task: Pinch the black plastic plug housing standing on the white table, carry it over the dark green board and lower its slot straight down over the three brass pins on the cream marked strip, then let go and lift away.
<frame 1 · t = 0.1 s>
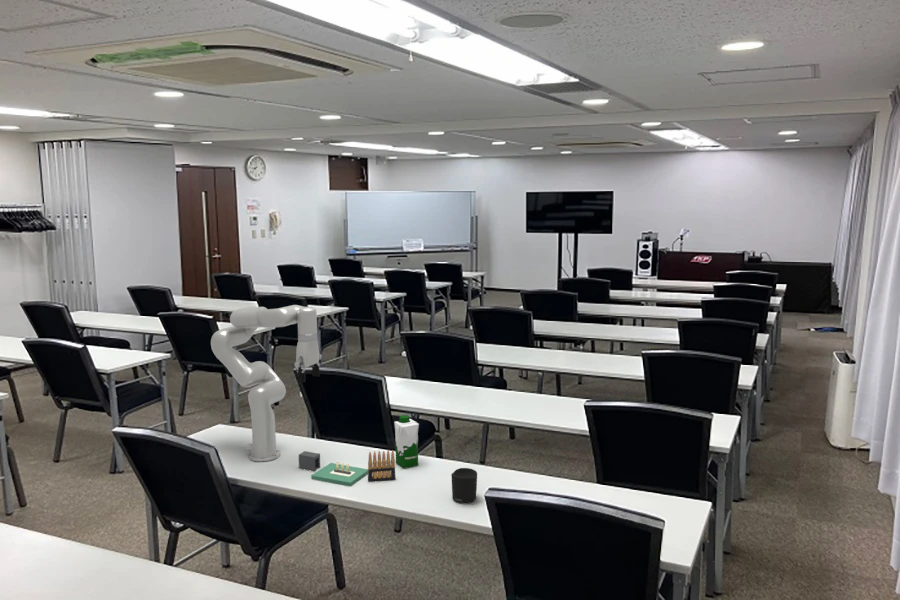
hand: (309, 379, 273), 37 cm above the table, tool pointing down, fingers open, 9 cm apart
plug housing: (309, 468, 275), on the table
header board: (340, 475, 267), on the table
milk carton: (407, 464, 279), on the table
pen holder: (464, 499, 246), on the table
ammunition clip: (381, 480, 263), on the table
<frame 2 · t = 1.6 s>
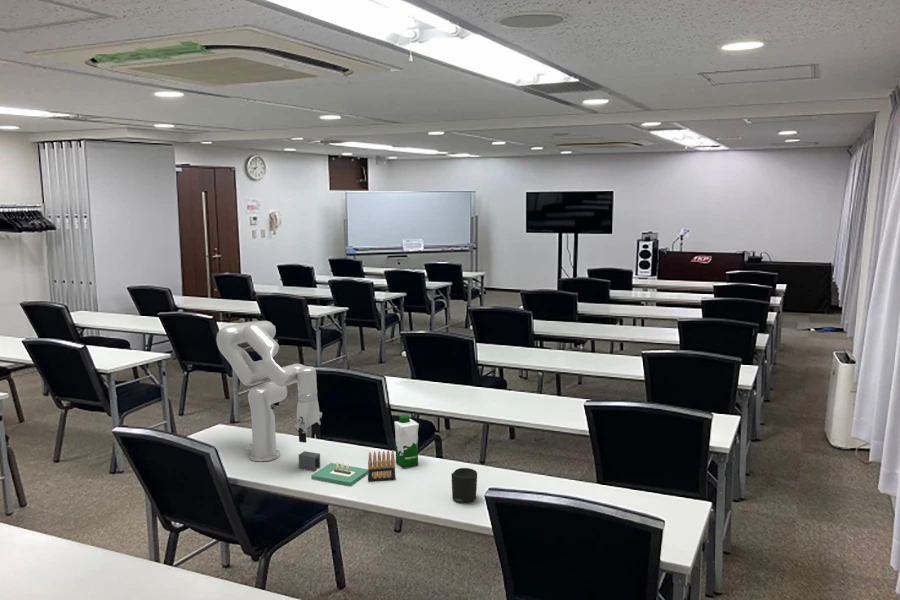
hand: (309, 438, 273), 13 cm above the table, tool pointing down, fingers open, 9 cm apart
nothing on the table moved.
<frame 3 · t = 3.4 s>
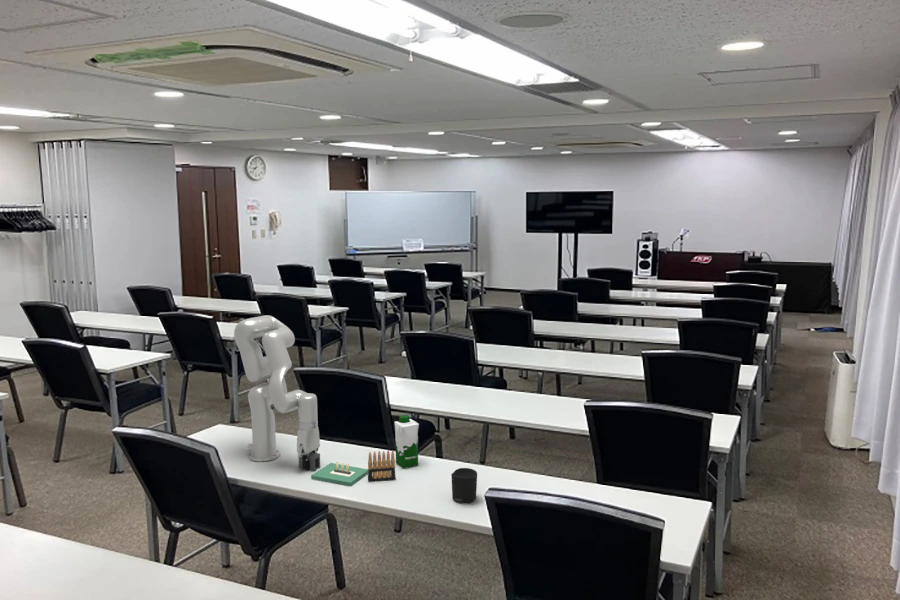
hand: (309, 466, 275), 1 cm above the table, tool pointing down, fingers closed on plug housing, 4 cm apart
plug housing: (309, 468, 275), on the table, touching gripper
everything else where it was.
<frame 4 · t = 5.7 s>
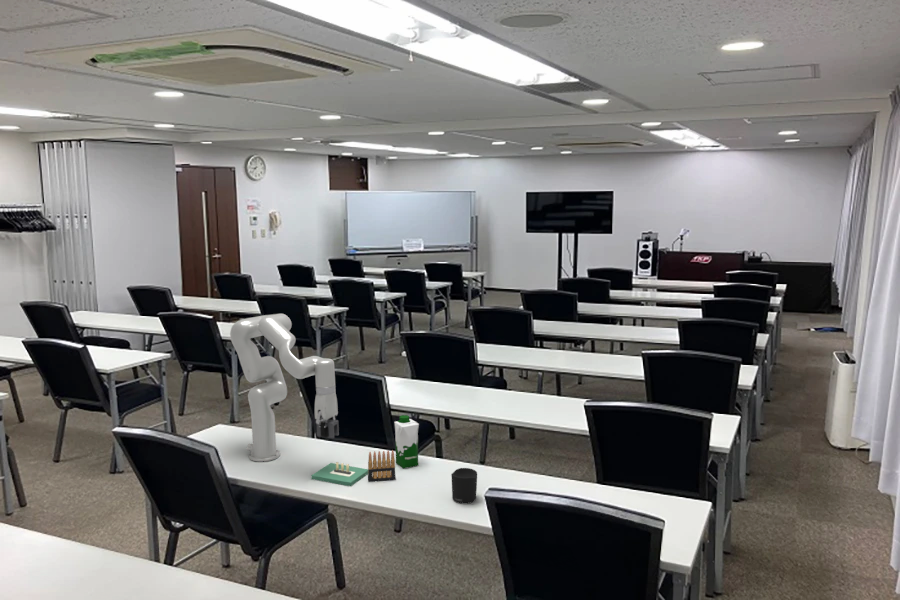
hand: (328, 434, 268), 16 cm above the table, tool pointing down, fingers closed on plug housing, 4 cm apart
plug housing: (328, 435, 268), point 16 cm above the table, touching gripper
everything else where it was.
when the fingers open (3 cm above the table, at t = 8.5 s): plug housing stays where it is, resting on header board.
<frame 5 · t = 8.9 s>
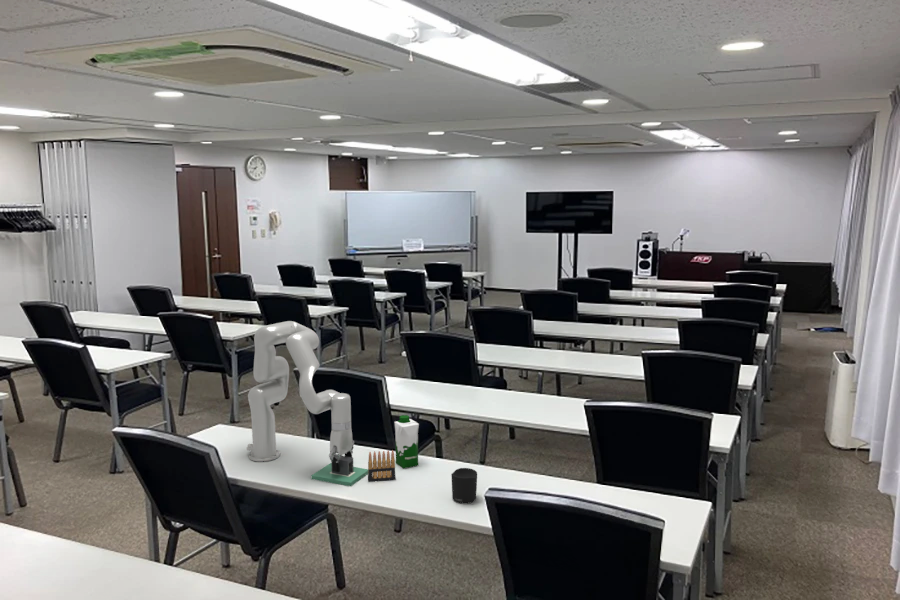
hand: (342, 467, 266), 4 cm above the table, tool pointing down, fingers open, 8 cm apart
plug housing: (342, 472, 266), point 2 cm above the table, touching header board
everything else where it was.
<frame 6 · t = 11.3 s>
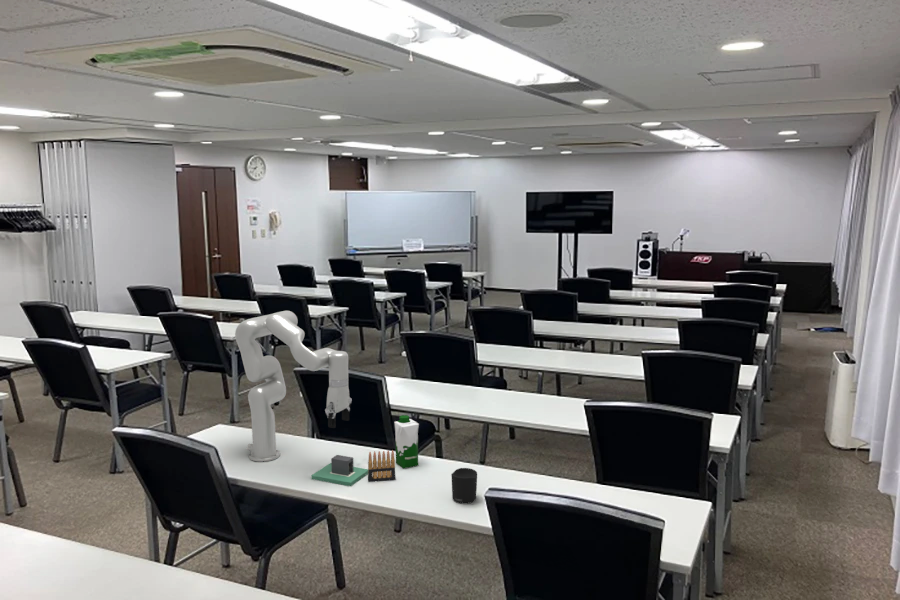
hand: (338, 423, 269), 20 cm above the table, tool pointing down, fingers open, 9 cm apart
nothing on the table moved.
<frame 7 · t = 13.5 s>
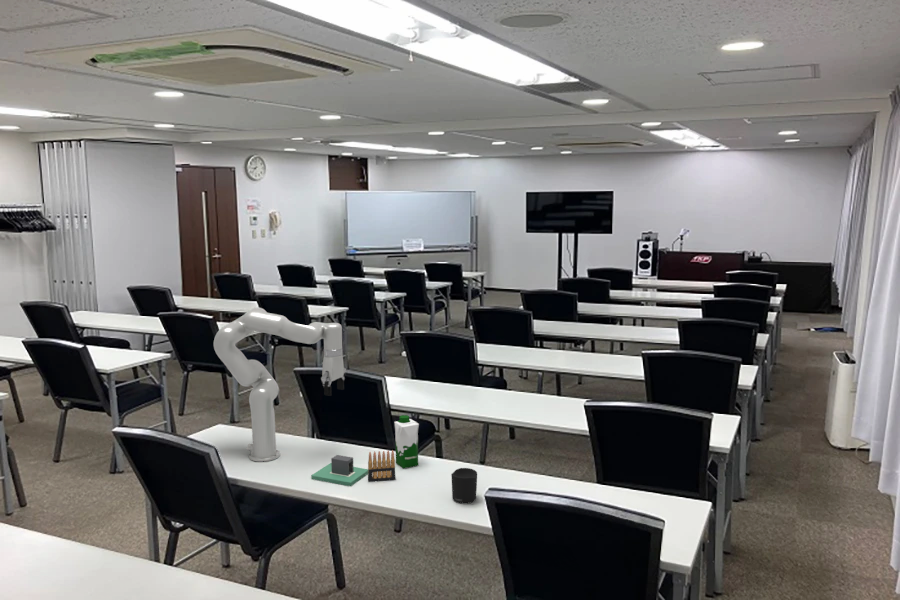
hand: (334, 392, 283), 28 cm above the table, tool pointing down, fingers open, 9 cm apart
nothing on the table moved.
at the end: plug housing 0.1 cm from the target spot on the header board, point 1.6 cm above the header board's base; plug housing tilted 0°; the gripper is holding nothing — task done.
